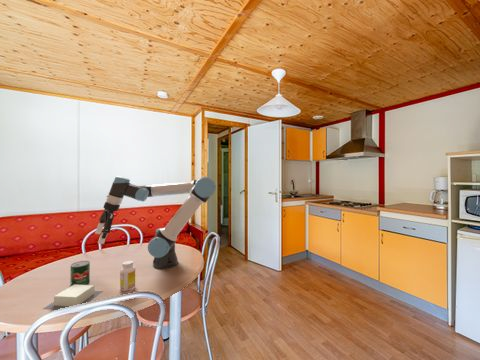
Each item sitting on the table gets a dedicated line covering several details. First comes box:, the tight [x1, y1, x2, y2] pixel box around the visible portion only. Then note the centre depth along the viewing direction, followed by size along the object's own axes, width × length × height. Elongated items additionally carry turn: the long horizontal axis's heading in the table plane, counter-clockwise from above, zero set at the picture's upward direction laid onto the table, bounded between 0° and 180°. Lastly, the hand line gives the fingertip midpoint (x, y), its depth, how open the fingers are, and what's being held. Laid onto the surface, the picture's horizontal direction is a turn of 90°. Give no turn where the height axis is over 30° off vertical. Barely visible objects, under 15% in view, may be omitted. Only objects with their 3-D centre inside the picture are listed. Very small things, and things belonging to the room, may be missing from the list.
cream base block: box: [53, 284, 95, 306], centre depth 93 cm, size 10×10×4 cm
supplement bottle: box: [119, 260, 136, 292], centre depth 104 cm, size 7×7×13 cm
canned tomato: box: [69, 260, 91, 287], centre depth 107 cm, size 8×8×11 cm
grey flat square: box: [42, 290, 104, 311], centre depth 93 cm, size 15×15×1 cm
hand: (99, 238), depth 117 cm, fingers open, 13 cm apart
